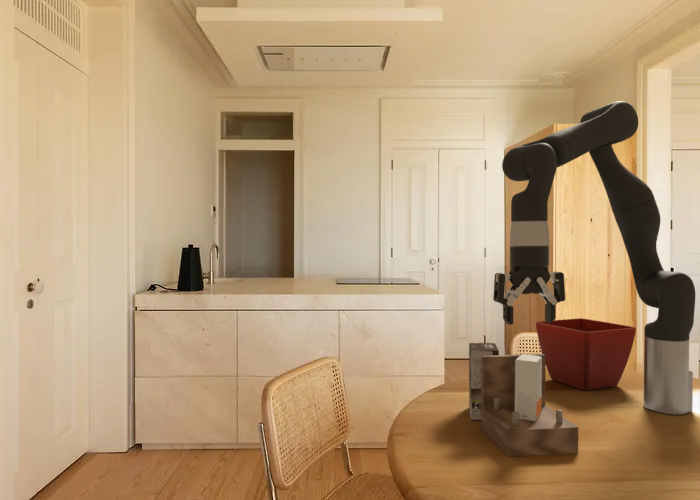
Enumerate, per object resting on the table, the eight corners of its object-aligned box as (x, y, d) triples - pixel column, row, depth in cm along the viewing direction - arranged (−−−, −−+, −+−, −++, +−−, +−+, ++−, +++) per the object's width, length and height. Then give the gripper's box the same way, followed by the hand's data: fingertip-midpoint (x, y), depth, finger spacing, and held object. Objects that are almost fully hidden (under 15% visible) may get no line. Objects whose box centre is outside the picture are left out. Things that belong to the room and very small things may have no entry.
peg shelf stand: (542, 426, 112) (542, 353, 111) (578, 452, 98) (578, 370, 97) (481, 429, 110) (481, 355, 110) (508, 456, 96) (509, 372, 96)
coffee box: (499, 422, 114) (499, 350, 114) (469, 420, 116) (469, 349, 115) (495, 408, 123) (496, 342, 123) (468, 406, 124) (468, 341, 124)
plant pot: (580, 371, 157) (581, 317, 157) (637, 387, 140) (638, 327, 139) (533, 378, 149) (533, 321, 149) (587, 396, 132) (587, 332, 132)
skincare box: (536, 422, 100) (536, 362, 100) (514, 418, 102) (514, 359, 102) (542, 413, 105) (542, 356, 105) (521, 409, 107) (521, 353, 107)
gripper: (552, 243, 108) (552, 319, 108) (488, 244, 106) (488, 321, 106) (572, 243, 100) (572, 325, 101) (503, 244, 99) (503, 327, 99)
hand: (529, 323), depth 104 cm, fingers open, 8 cm apart
